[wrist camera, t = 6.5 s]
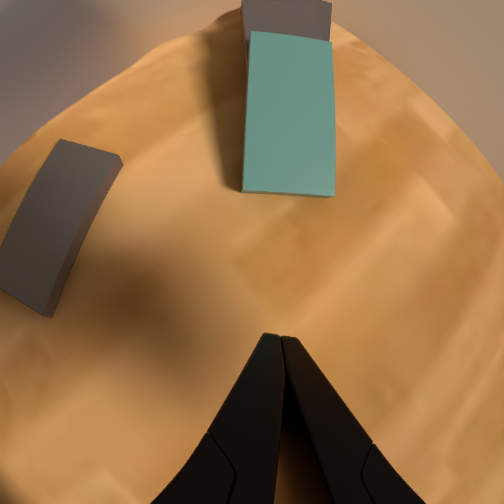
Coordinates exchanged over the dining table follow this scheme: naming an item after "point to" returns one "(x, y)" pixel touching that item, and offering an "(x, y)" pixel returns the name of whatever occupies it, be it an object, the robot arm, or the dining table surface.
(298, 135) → the domino
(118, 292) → the dining table surface
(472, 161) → the dining table surface
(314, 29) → the domino
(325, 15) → the domino
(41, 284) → the domino
